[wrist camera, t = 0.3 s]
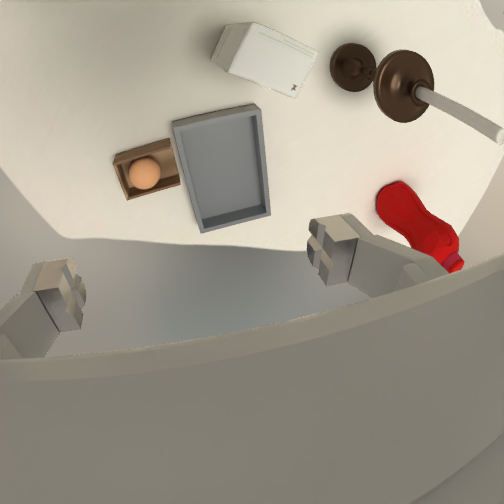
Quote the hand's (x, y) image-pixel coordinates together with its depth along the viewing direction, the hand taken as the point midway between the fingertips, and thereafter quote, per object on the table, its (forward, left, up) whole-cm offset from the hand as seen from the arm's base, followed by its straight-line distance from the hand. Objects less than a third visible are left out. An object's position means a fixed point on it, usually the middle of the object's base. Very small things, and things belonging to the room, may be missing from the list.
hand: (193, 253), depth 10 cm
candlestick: (+2, +30, -38) cm, 49 cm away
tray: (+17, +6, -38) cm, 42 cm away
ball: (+13, -7, -35) cm, 38 cm away
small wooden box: (+13, -6, -38) cm, 41 cm away
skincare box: (-2, +11, -38) cm, 40 cm away
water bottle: (+33, +44, -38) cm, 67 cm away
